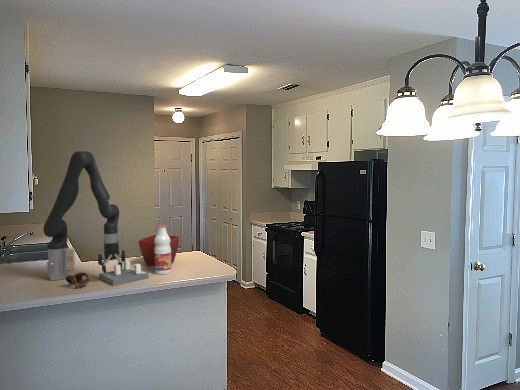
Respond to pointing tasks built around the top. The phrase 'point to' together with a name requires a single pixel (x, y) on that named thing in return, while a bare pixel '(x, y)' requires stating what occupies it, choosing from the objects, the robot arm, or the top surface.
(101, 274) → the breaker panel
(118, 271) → the breaker
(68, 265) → the supplement box
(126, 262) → the block
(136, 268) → the breaker near
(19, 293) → the top surface
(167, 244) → the fruit juice
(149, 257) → the plant pot
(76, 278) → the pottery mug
